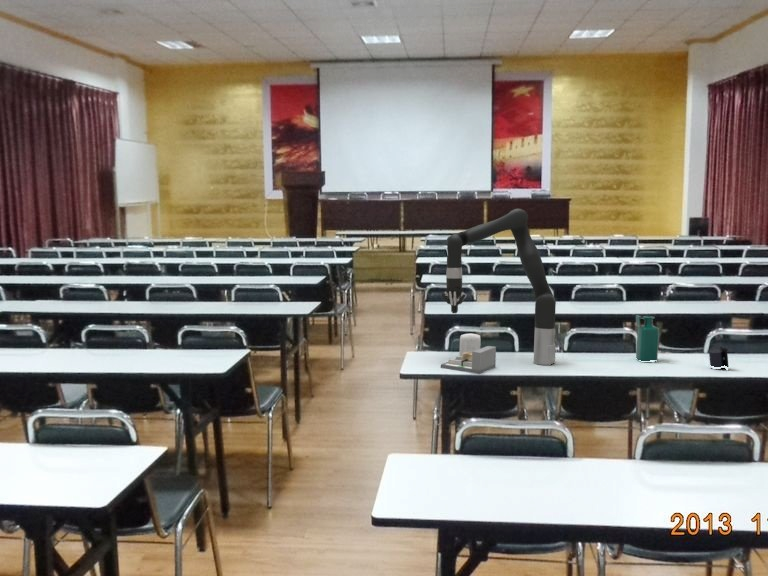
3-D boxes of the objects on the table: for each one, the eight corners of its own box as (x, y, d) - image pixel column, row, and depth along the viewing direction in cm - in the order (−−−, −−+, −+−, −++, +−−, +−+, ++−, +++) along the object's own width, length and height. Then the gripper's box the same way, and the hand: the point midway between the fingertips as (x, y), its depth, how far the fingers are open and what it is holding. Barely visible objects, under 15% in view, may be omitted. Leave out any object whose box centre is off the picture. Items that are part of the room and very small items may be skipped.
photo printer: (478, 357, 348) (479, 332, 346) (481, 359, 344) (481, 334, 342) (458, 357, 346) (458, 333, 345) (460, 359, 342) (460, 334, 341)
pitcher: (652, 358, 348) (654, 314, 345) (658, 362, 340) (661, 317, 337) (632, 358, 348) (634, 314, 346) (638, 362, 340) (640, 317, 337)
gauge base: (495, 367, 328) (496, 346, 326) (479, 373, 314) (480, 352, 313) (457, 361, 339) (457, 341, 338) (440, 367, 326) (441, 347, 324)
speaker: (726, 367, 330) (725, 345, 329) (728, 370, 325) (728, 348, 323) (708, 367, 332) (708, 346, 331) (710, 371, 327) (710, 349, 325)
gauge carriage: (477, 363, 327) (477, 352, 326) (466, 367, 318) (467, 356, 318) (467, 361, 330) (468, 351, 329) (456, 366, 321) (457, 355, 320)
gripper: (470, 276, 335) (470, 313, 337) (445, 275, 343) (445, 311, 344) (463, 278, 329) (463, 315, 331) (438, 277, 336) (438, 313, 338)
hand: (454, 313), depth 338 cm, fingers closed
